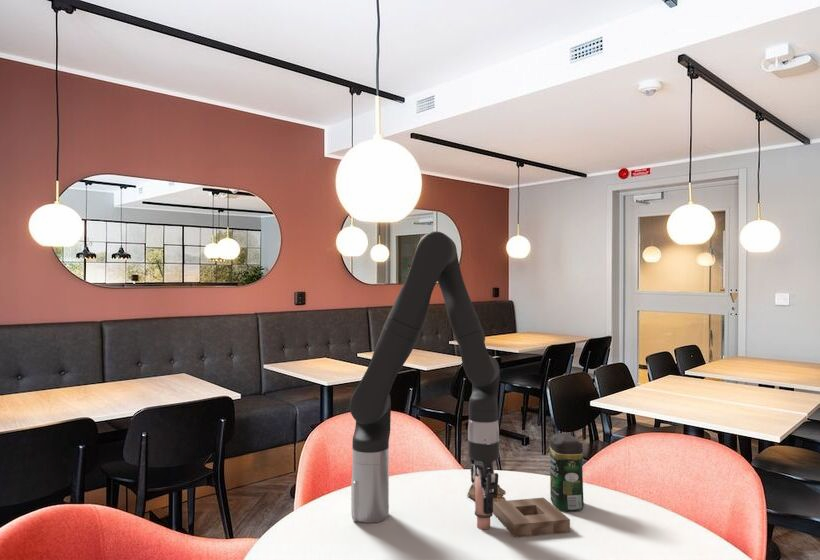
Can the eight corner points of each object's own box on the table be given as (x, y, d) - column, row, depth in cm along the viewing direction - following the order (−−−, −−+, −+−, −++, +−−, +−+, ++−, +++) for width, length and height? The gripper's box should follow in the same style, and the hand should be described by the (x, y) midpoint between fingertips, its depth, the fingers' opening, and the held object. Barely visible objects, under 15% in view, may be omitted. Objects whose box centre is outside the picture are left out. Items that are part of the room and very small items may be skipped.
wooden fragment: (513, 512, 141) (513, 508, 141) (470, 512, 141) (470, 508, 141) (498, 479, 166) (498, 475, 166) (462, 479, 167) (462, 475, 167)
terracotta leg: (478, 531, 129) (477, 480, 129) (472, 523, 133) (472, 474, 133) (495, 529, 130) (495, 479, 130) (489, 522, 134) (488, 473, 134)
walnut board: (514, 537, 126) (514, 524, 126) (493, 513, 139) (493, 501, 139) (570, 532, 129) (569, 519, 129) (543, 509, 142) (543, 497, 142)
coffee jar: (547, 498, 149) (546, 430, 150) (575, 498, 149) (575, 430, 150) (556, 513, 140) (556, 440, 140) (587, 512, 140) (586, 440, 140)
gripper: (459, 431, 138) (460, 498, 138) (478, 447, 124) (478, 521, 124) (487, 430, 140) (488, 496, 139) (509, 445, 126) (509, 519, 125)
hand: (483, 507), depth 132 cm, fingers open, 5 cm apart
